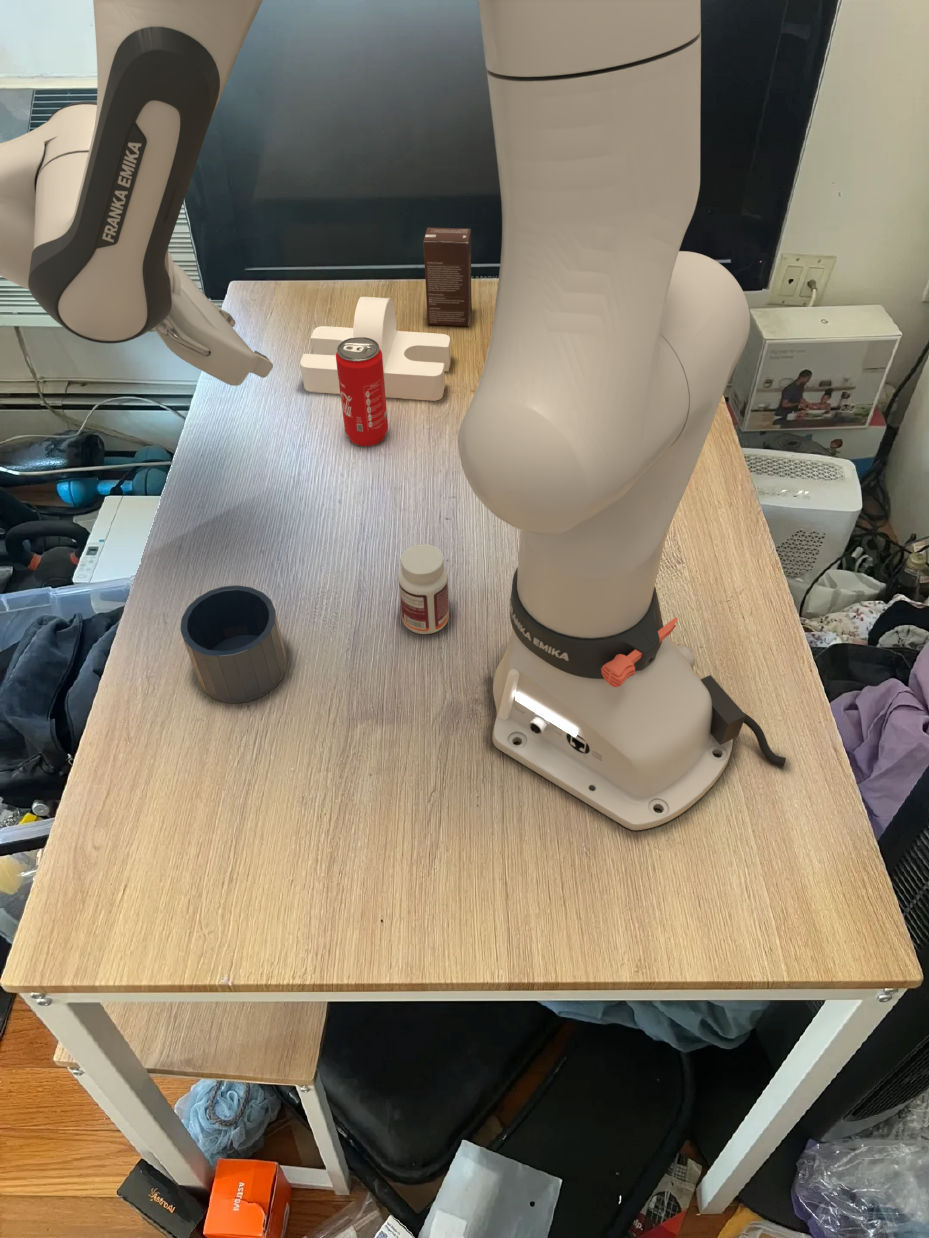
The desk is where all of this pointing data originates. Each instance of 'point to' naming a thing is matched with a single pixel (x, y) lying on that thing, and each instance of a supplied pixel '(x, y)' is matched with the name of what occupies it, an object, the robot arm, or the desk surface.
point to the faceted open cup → (234, 643)
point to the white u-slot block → (406, 355)
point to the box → (448, 276)
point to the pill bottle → (423, 589)
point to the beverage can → (362, 390)
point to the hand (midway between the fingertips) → (248, 346)
